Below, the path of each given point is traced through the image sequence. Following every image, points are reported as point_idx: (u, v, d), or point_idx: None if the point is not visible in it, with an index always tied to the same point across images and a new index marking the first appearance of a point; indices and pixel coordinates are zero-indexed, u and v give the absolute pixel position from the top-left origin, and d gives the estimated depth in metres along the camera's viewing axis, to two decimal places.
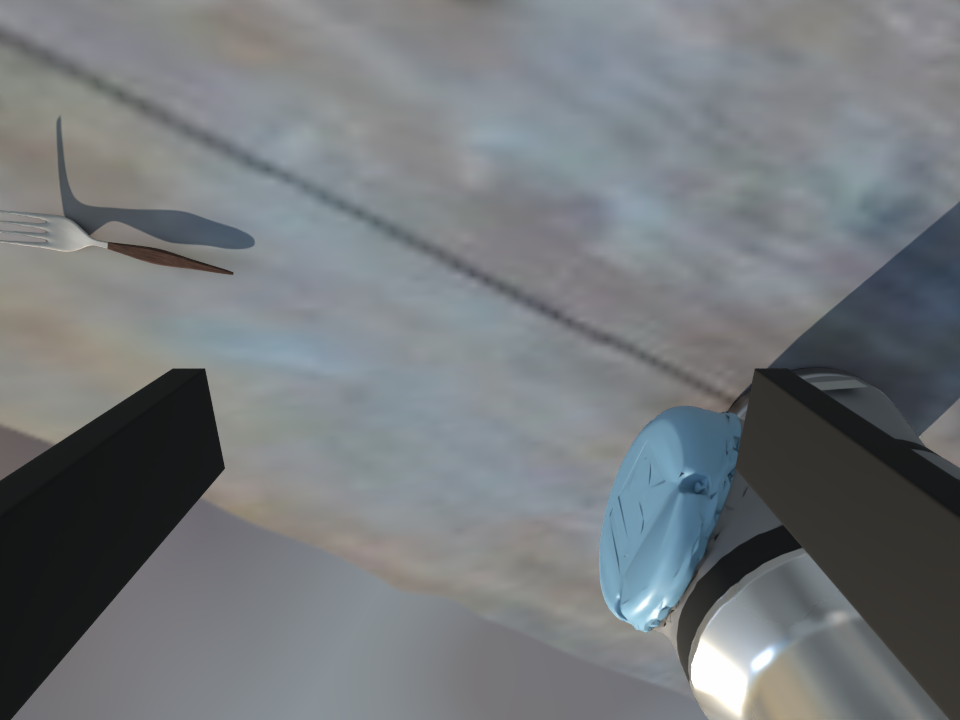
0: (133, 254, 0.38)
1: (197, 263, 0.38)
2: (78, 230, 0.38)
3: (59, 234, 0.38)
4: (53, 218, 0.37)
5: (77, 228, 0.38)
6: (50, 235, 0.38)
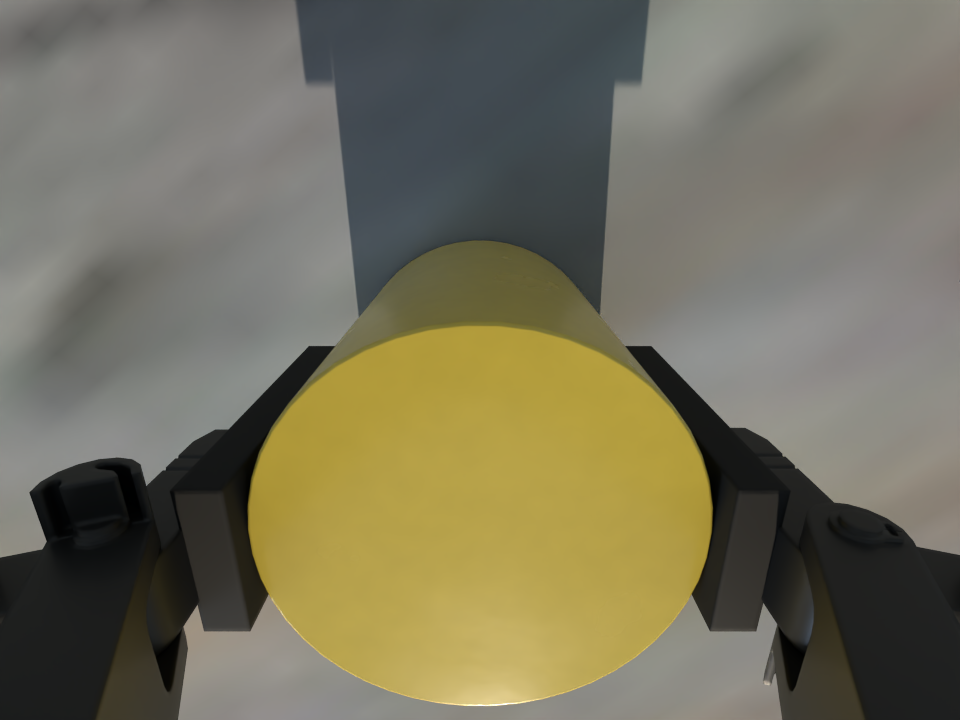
0: None
1: None
2: None
3: None
4: None
5: None
6: None
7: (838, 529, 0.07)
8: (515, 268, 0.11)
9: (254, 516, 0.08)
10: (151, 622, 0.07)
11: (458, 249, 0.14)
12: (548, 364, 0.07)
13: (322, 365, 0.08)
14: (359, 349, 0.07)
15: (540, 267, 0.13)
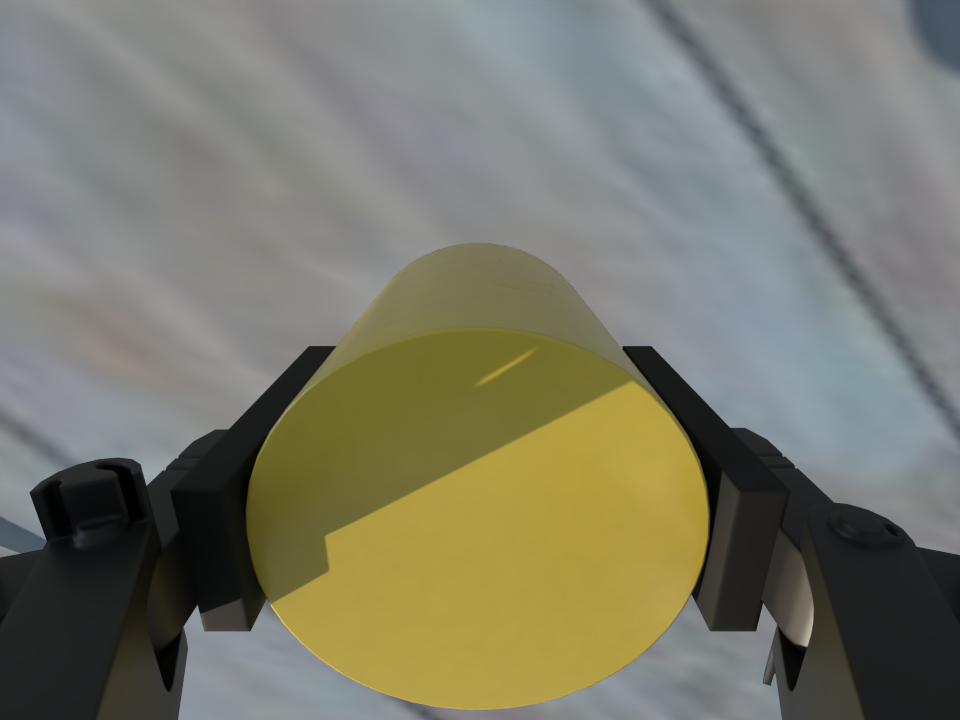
0: None
1: None
2: None
3: None
4: None
5: None
6: None
7: (836, 529, 0.07)
8: (513, 271, 0.11)
9: (252, 520, 0.08)
10: (151, 622, 0.07)
11: (457, 252, 0.14)
12: (546, 369, 0.07)
13: (320, 370, 0.08)
14: (357, 354, 0.07)
15: (539, 270, 0.13)
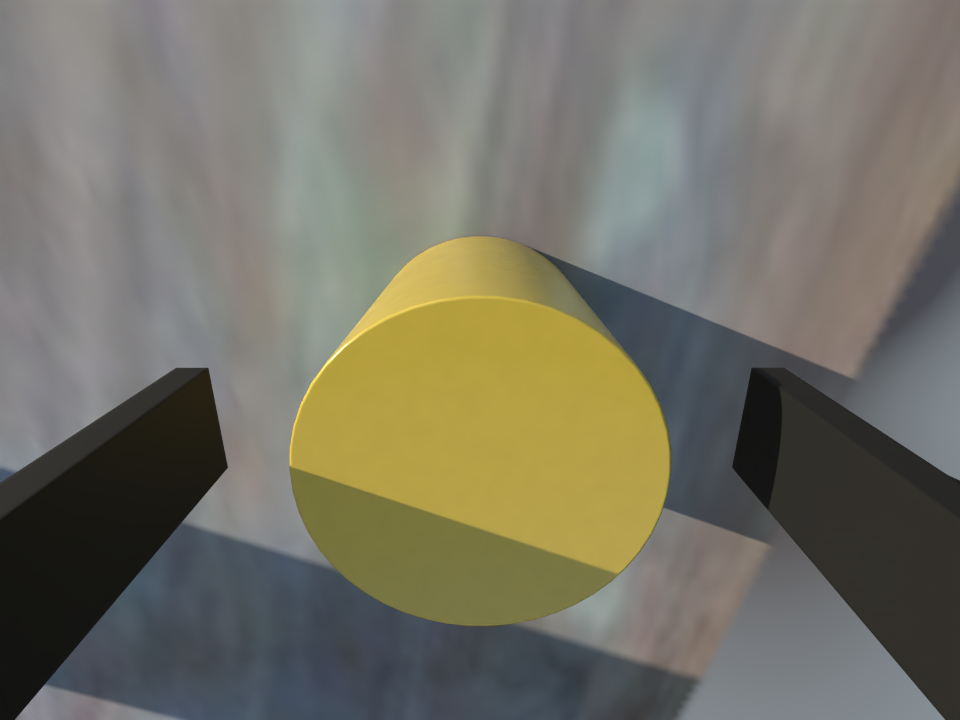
0: None
1: None
2: None
3: None
4: None
5: None
6: None
7: None
8: (510, 258, 0.13)
9: (296, 458, 0.10)
10: None
11: (461, 243, 0.16)
12: (535, 331, 0.09)
13: (351, 334, 0.10)
14: (384, 318, 0.09)
15: (532, 258, 0.15)
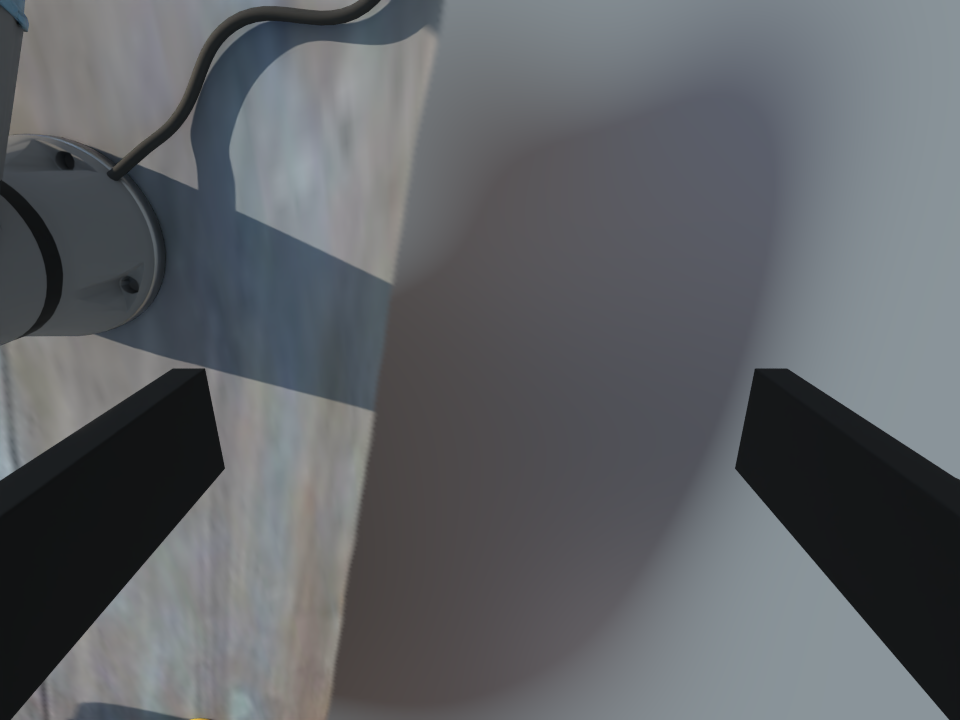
0: None
1: None
2: None
3: None
4: None
5: None
6: None
7: None
8: None
9: None
10: None
11: None
12: None
13: None
14: None
15: None
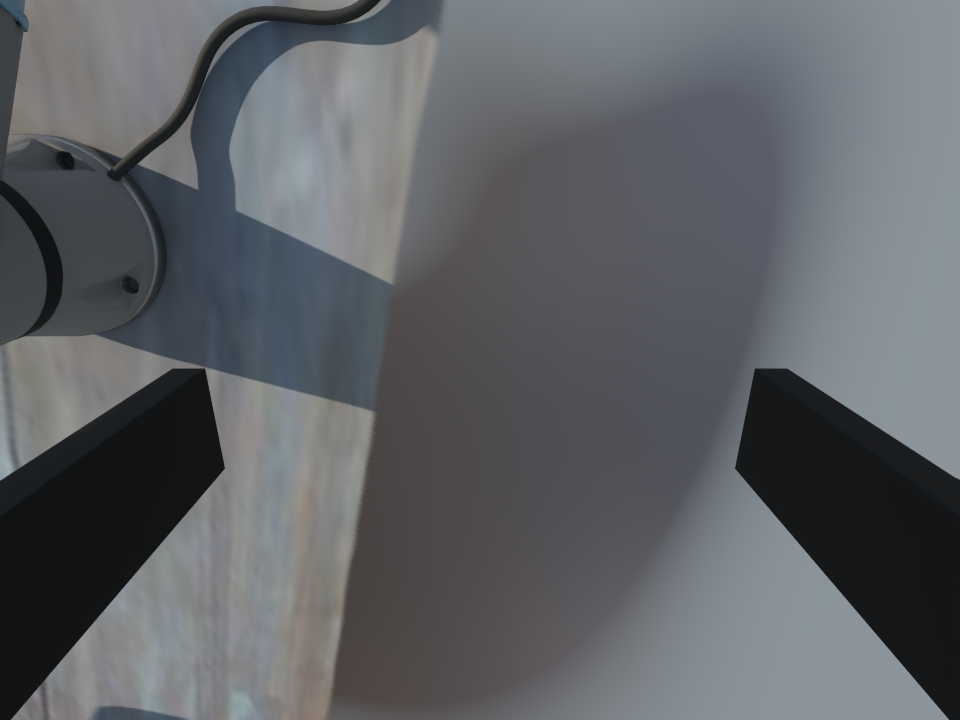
0: None
1: None
2: None
3: None
4: None
5: None
6: None
7: None
8: None
9: None
10: None
11: None
12: None
13: None
14: None
15: None
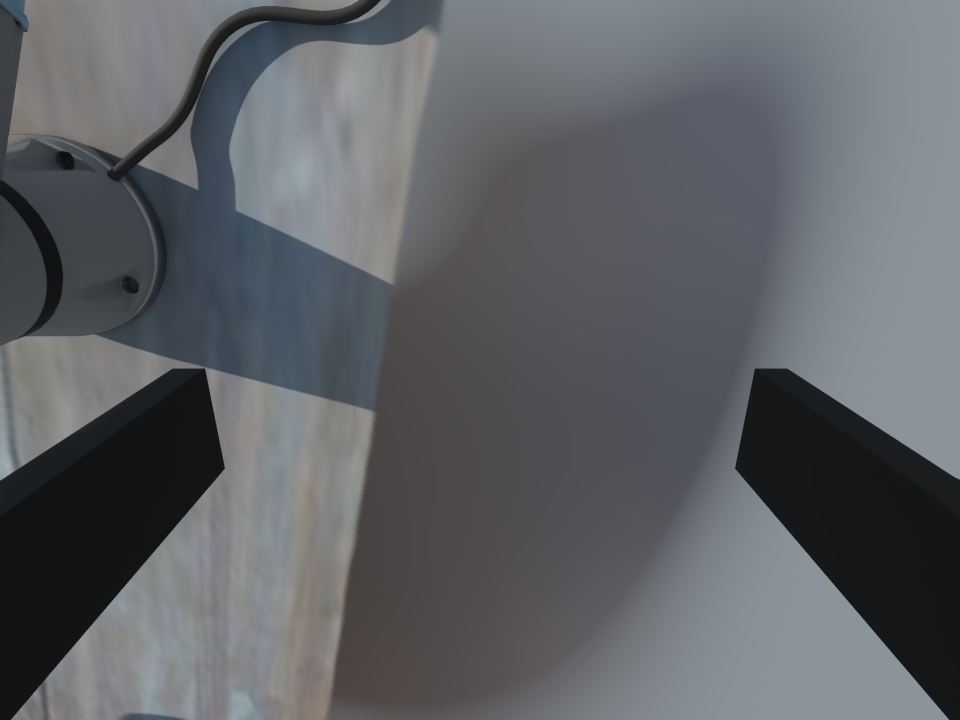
0: None
1: None
2: None
3: None
4: None
5: None
6: None
7: None
8: None
9: None
10: None
11: None
12: None
13: None
14: None
15: None
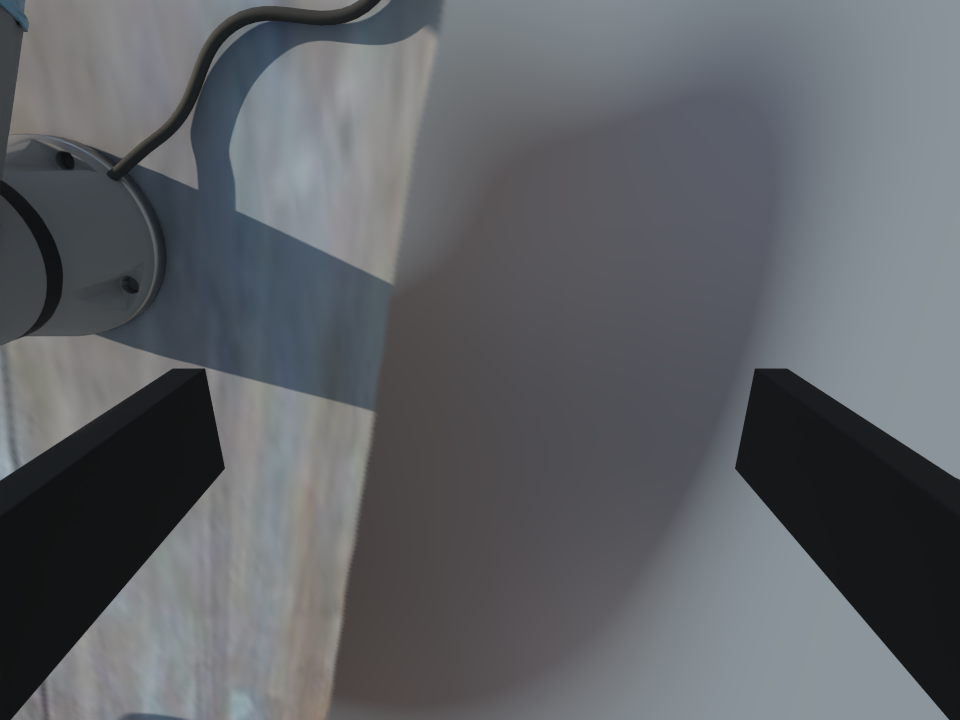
0: None
1: None
2: None
3: None
4: None
5: None
6: None
7: None
8: None
9: None
10: None
11: None
12: None
13: None
14: None
15: None
